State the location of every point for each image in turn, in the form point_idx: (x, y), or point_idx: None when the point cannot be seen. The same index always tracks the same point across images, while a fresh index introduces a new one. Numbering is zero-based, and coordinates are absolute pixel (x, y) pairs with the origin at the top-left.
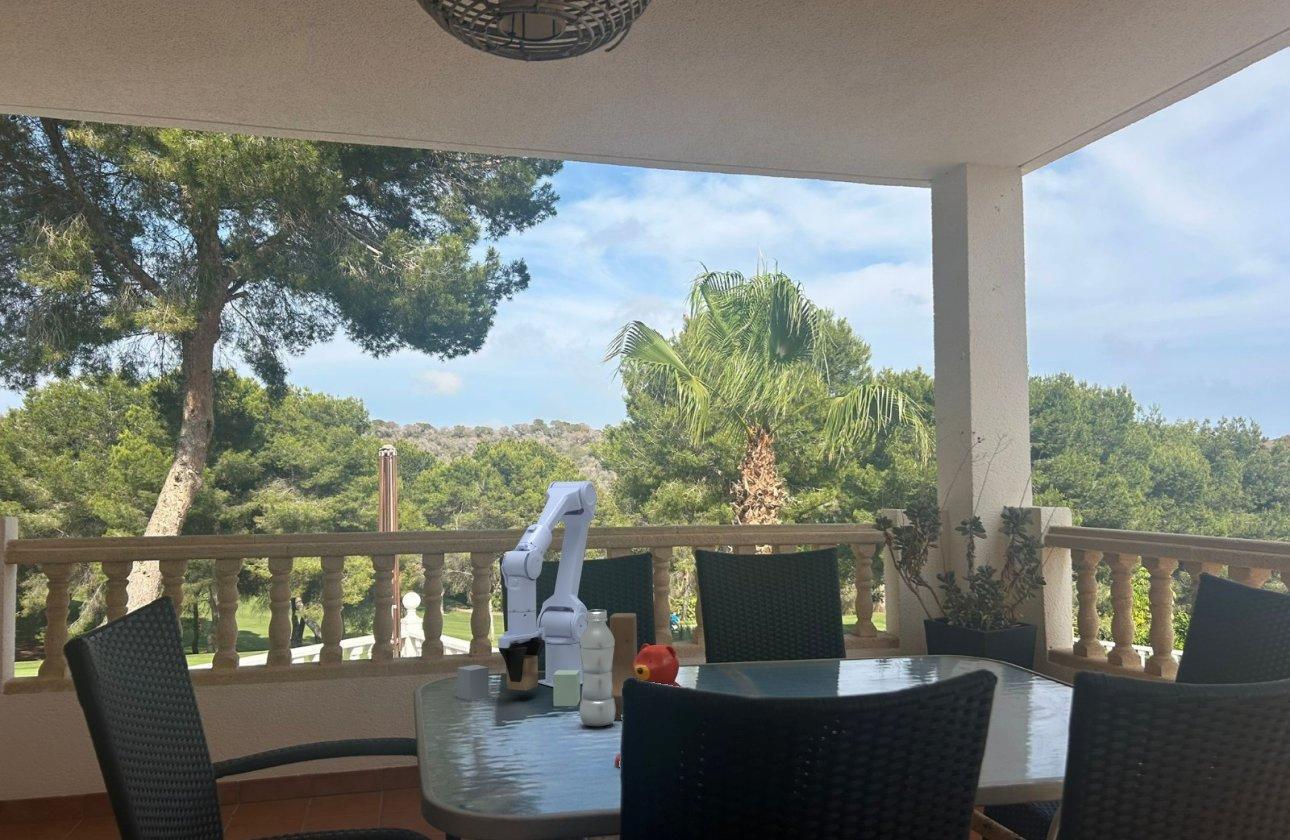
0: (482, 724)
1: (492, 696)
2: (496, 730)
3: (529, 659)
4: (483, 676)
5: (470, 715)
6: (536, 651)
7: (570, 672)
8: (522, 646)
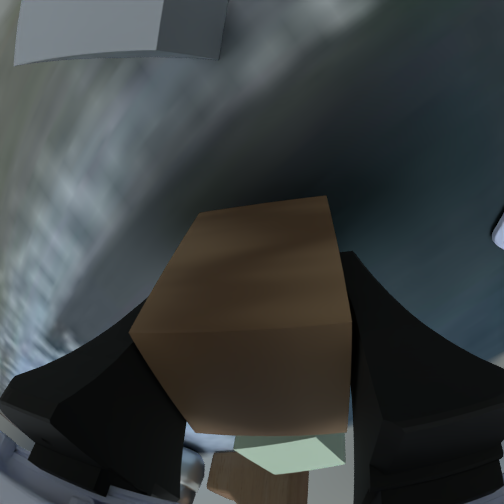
0: (26, 314)
1: (242, 64)
2: (38, 353)
3: (237, 430)
4: (138, 53)
5: (24, 240)
6: (354, 451)
7: (295, 463)
8: (367, 424)
